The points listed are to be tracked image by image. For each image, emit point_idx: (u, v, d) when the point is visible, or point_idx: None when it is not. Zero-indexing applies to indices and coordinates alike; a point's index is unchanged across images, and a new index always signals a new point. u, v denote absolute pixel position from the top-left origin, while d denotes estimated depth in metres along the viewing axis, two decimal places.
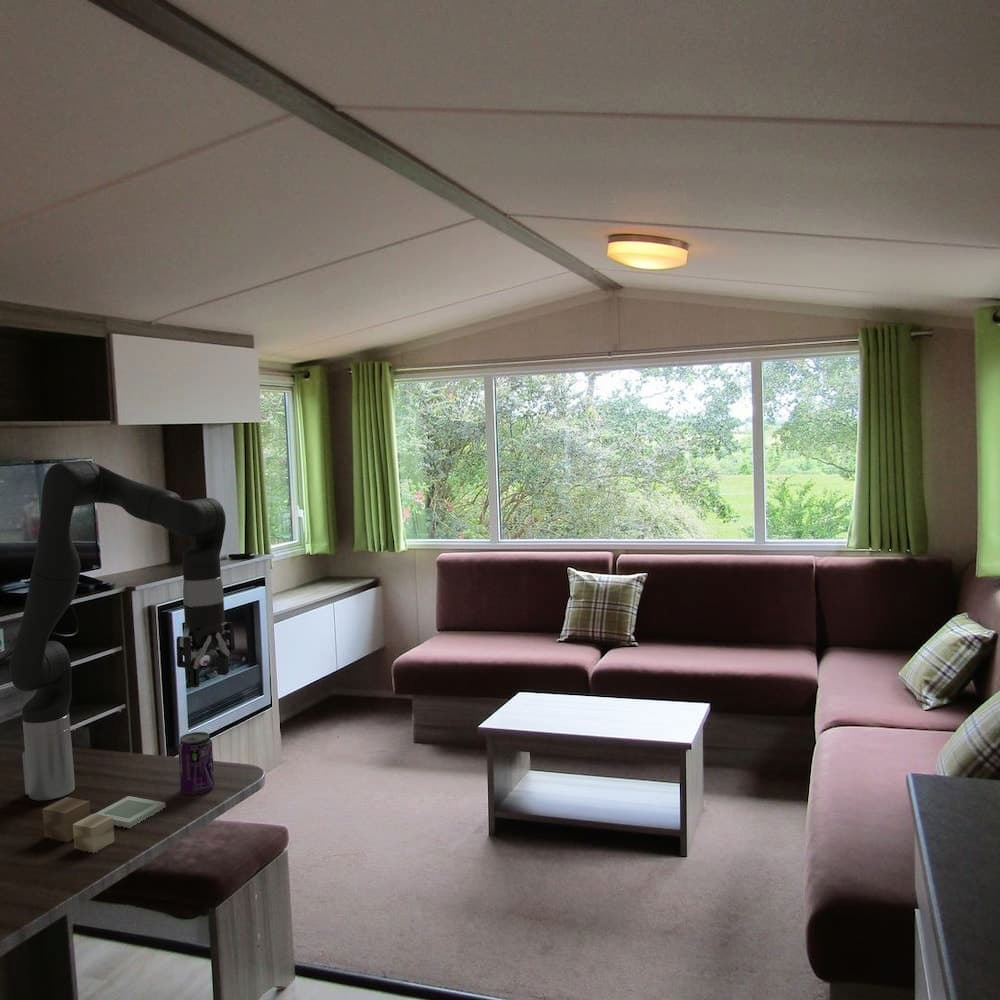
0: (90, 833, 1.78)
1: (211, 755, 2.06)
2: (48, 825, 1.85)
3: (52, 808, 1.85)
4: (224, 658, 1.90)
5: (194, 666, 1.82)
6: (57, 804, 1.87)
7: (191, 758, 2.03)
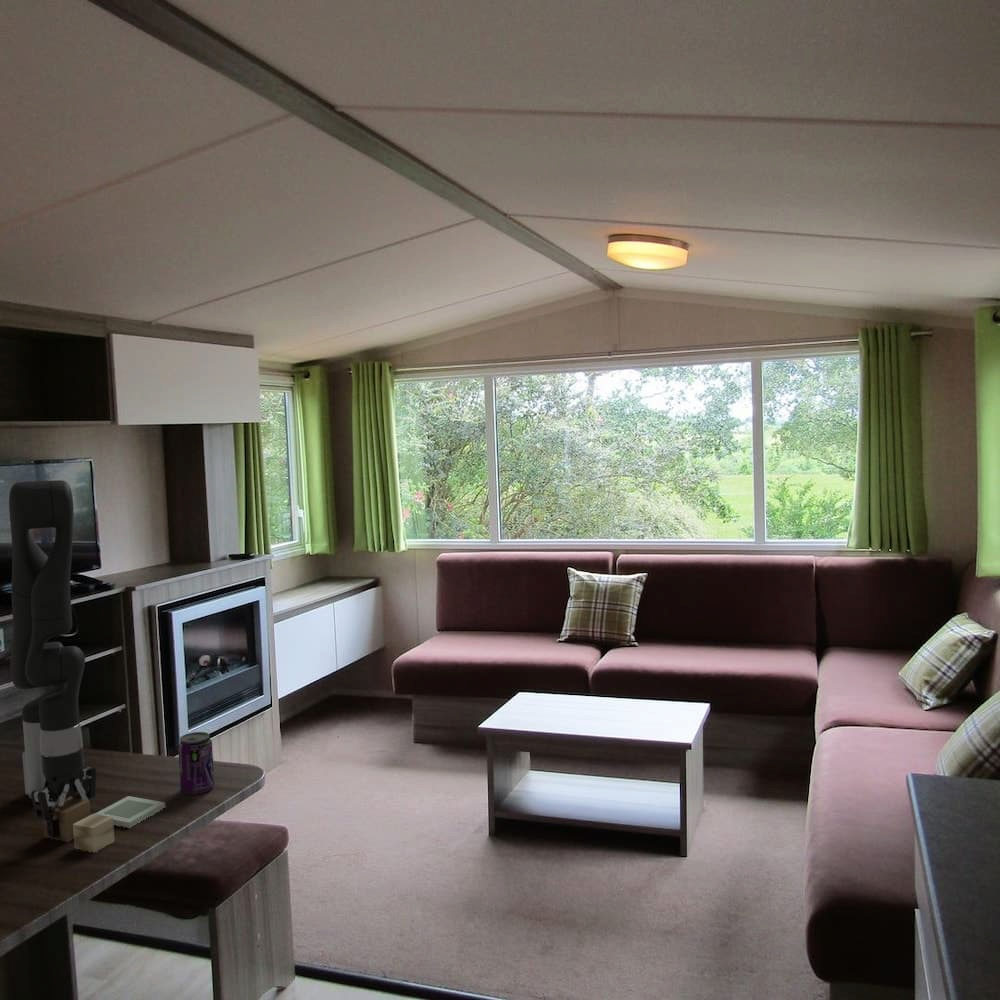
0: (90, 833, 1.78)
1: (211, 755, 2.06)
2: None
3: None
4: None
5: (54, 817, 1.82)
6: None
7: (191, 758, 2.03)
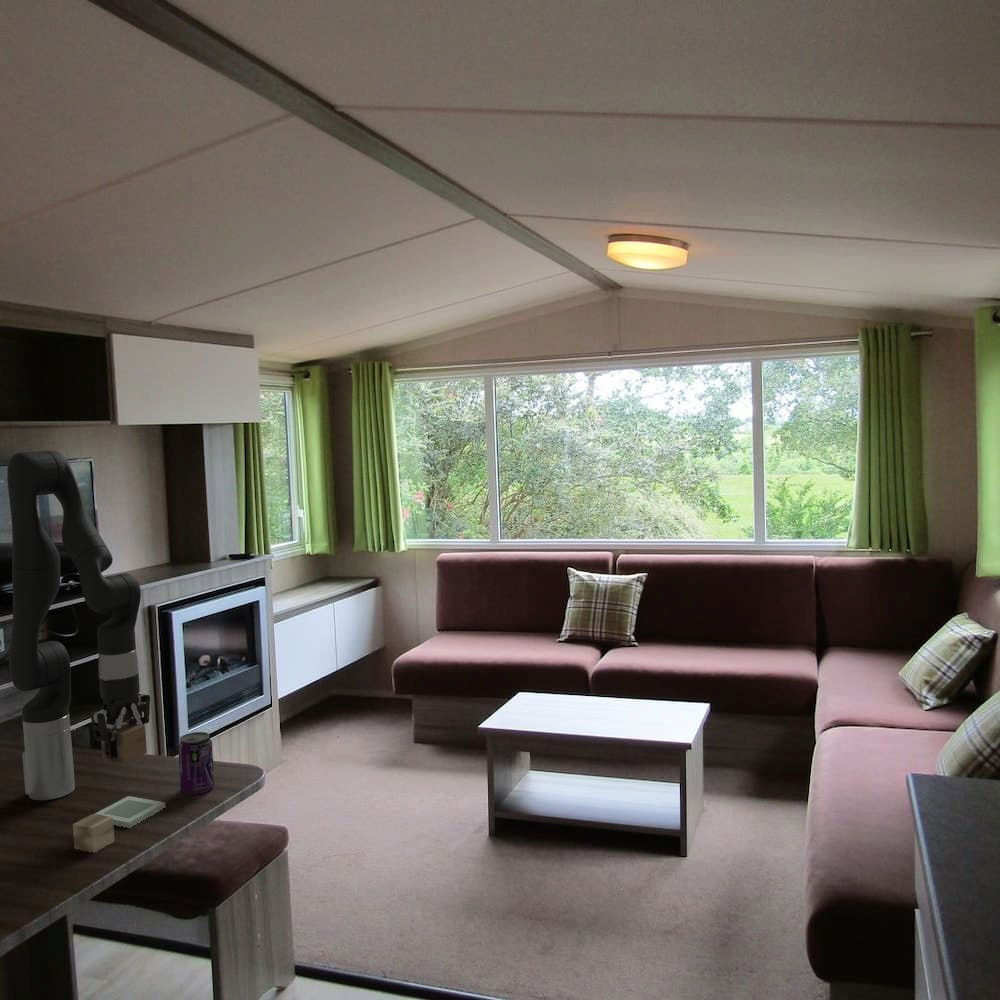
0: (90, 833, 1.78)
1: (211, 755, 2.06)
2: None
3: (110, 731, 1.92)
4: None
5: (112, 739, 1.89)
6: None
7: (191, 758, 2.03)
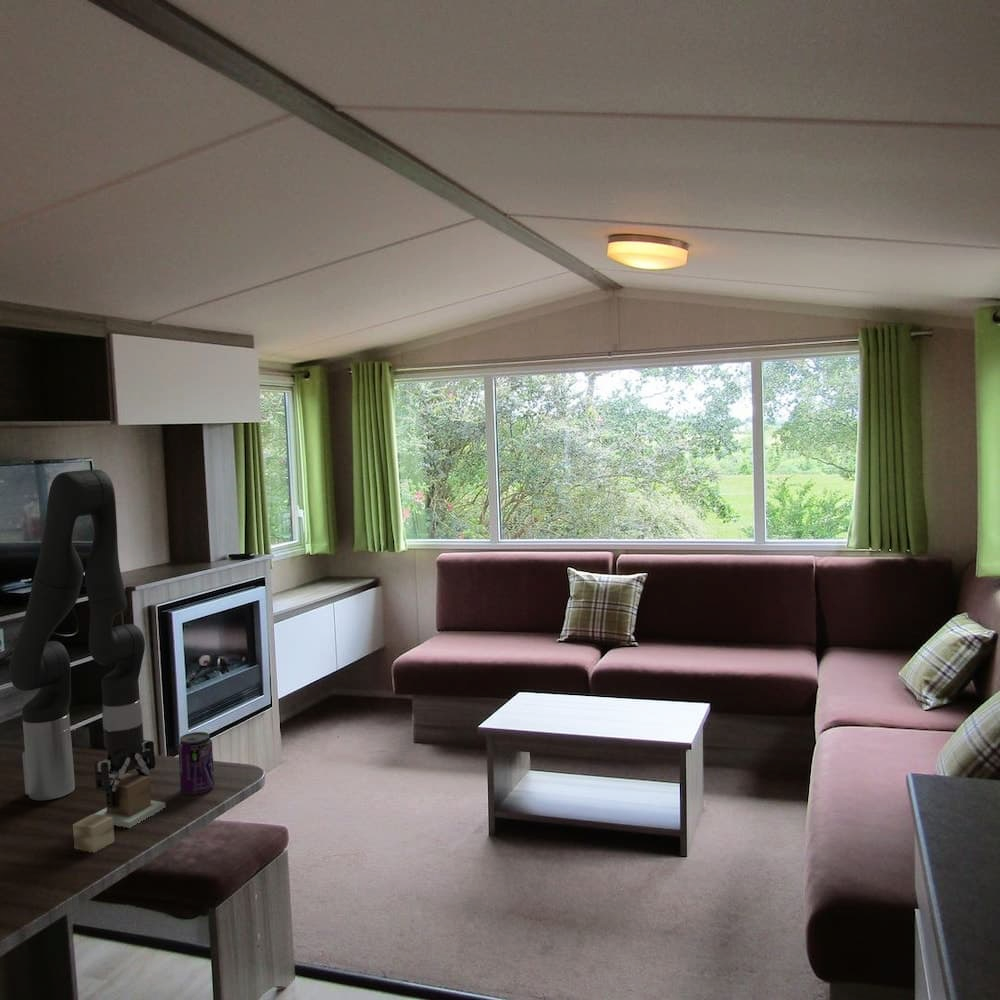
0: (90, 833, 1.78)
1: (211, 755, 2.06)
2: None
3: None
4: None
5: (113, 789, 1.89)
6: None
7: (191, 758, 2.03)
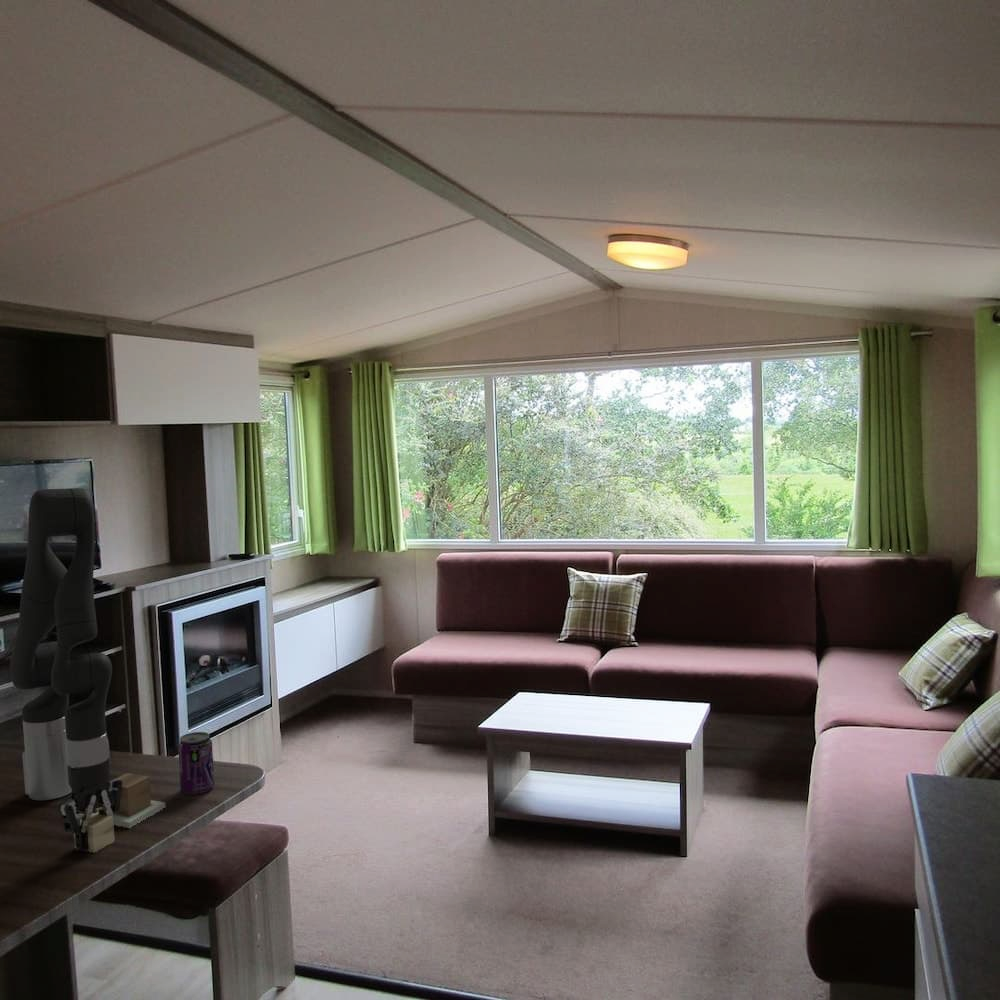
0: (90, 832, 1.78)
1: (211, 755, 2.06)
2: None
3: None
4: None
5: (82, 830, 1.77)
6: (119, 779, 1.95)
7: (191, 758, 2.03)
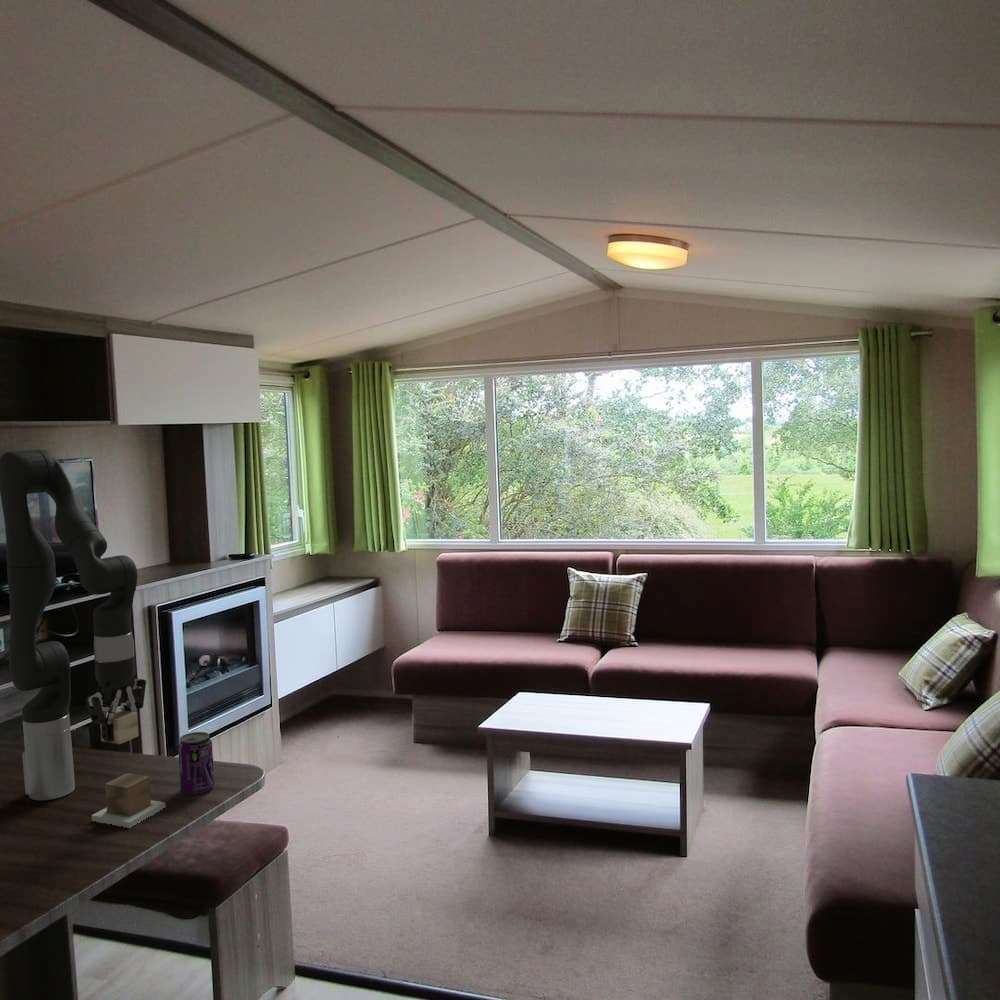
0: (116, 725, 1.89)
1: (211, 755, 2.06)
2: (111, 799, 1.93)
3: (114, 783, 1.93)
4: None
5: (108, 722, 1.88)
6: (119, 779, 1.95)
7: (191, 758, 2.03)
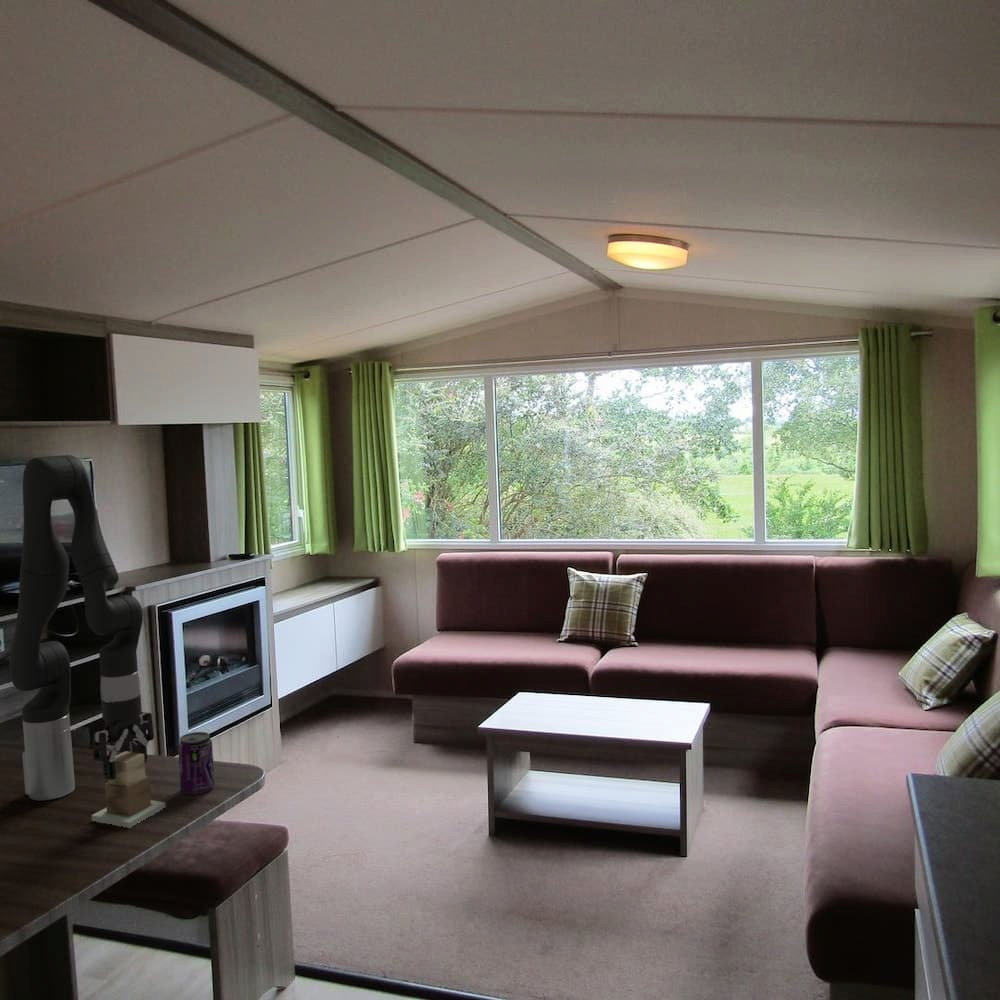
0: (124, 767, 1.91)
1: (211, 755, 2.06)
2: (111, 799, 1.93)
3: None
4: (142, 748, 1.97)
5: (110, 760, 1.89)
6: None
7: (191, 758, 2.03)
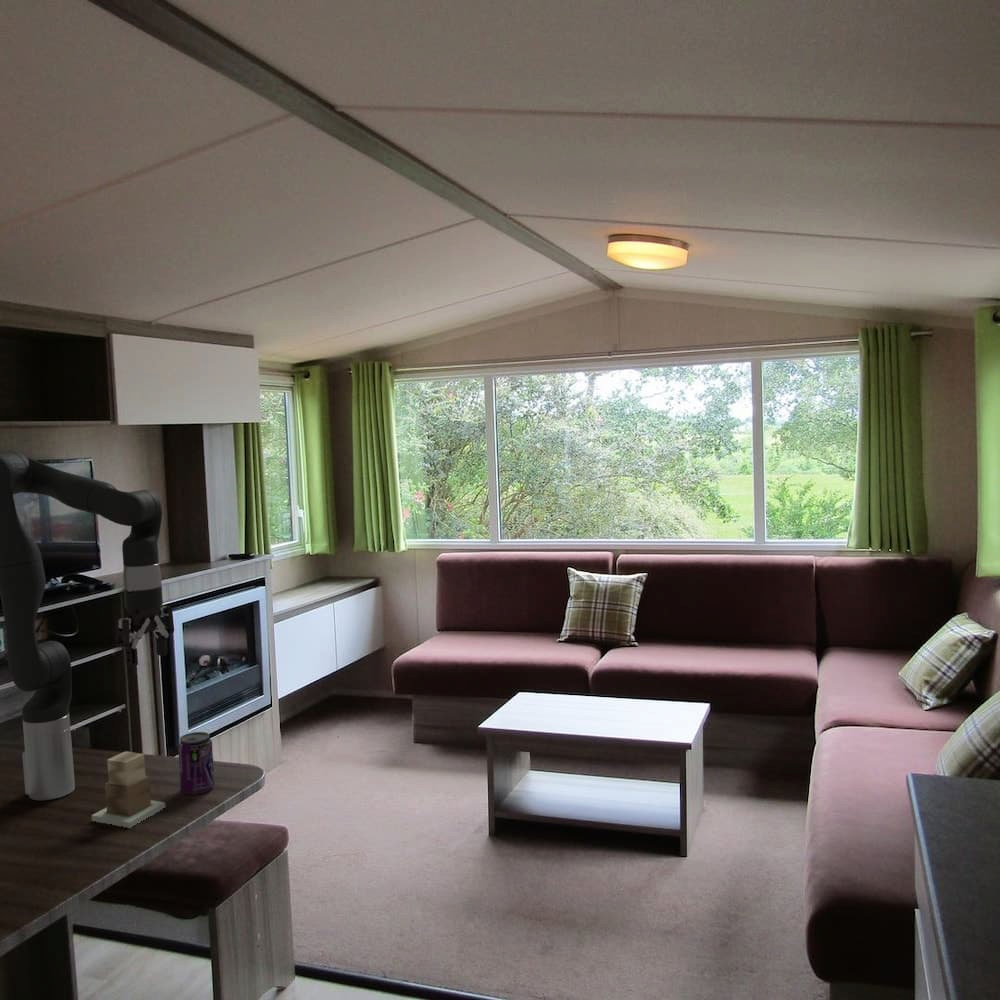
0: (124, 767, 1.91)
1: (211, 755, 2.06)
2: (111, 799, 1.93)
3: None
4: (163, 639, 2.04)
5: (132, 646, 1.95)
6: None
7: (191, 758, 2.03)
